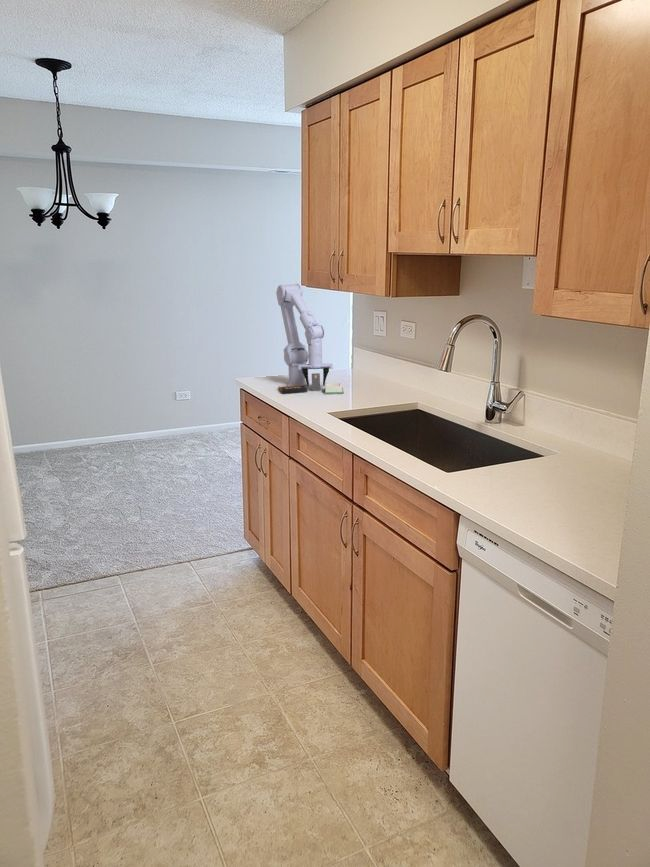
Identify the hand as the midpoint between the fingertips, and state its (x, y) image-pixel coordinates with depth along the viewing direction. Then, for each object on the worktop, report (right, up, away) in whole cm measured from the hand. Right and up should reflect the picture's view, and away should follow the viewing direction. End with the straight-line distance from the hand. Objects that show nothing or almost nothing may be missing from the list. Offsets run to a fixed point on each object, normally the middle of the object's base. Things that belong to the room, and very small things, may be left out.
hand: (316, 385), depth 283 cm
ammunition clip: (-9, -2, -5) cm, 10 cm away
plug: (0, -2, +1) cm, 2 cm away
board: (+8, -3, -3) cm, 9 cm away
